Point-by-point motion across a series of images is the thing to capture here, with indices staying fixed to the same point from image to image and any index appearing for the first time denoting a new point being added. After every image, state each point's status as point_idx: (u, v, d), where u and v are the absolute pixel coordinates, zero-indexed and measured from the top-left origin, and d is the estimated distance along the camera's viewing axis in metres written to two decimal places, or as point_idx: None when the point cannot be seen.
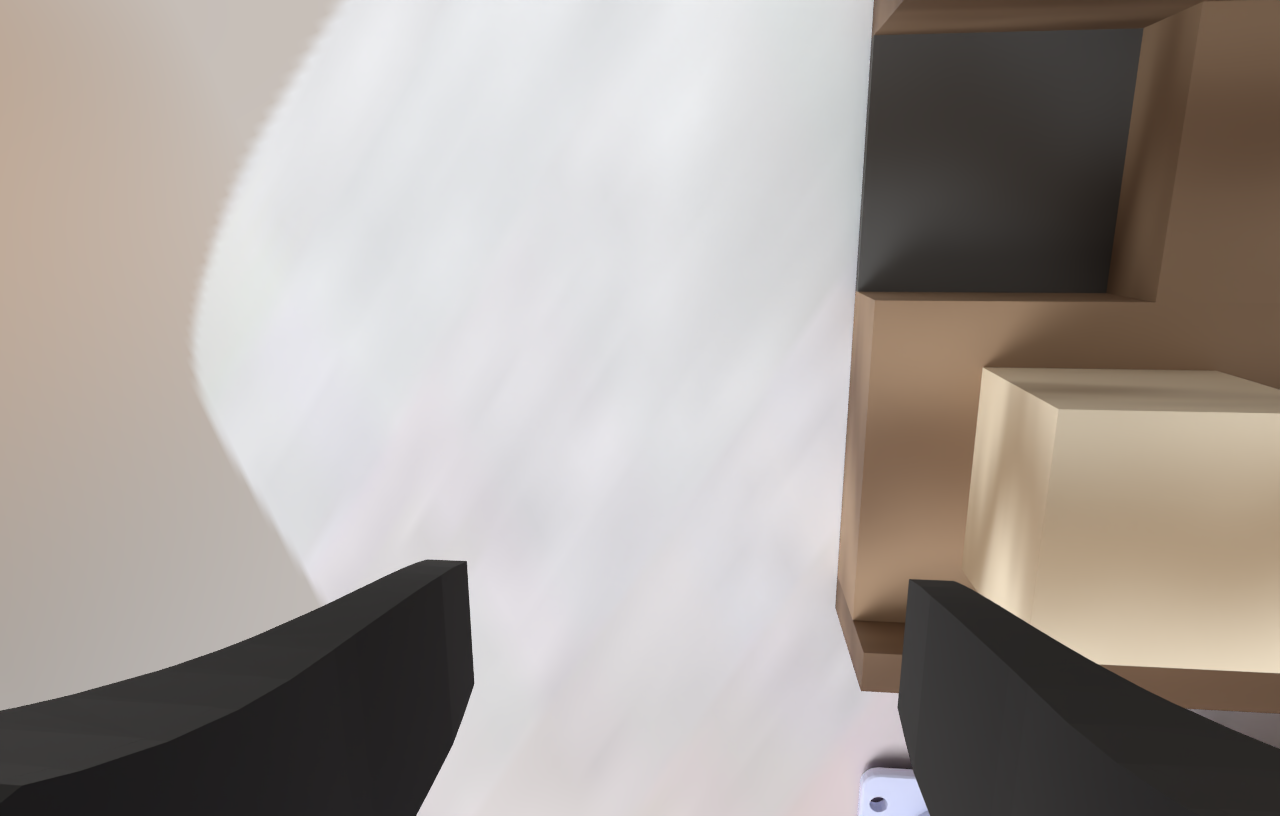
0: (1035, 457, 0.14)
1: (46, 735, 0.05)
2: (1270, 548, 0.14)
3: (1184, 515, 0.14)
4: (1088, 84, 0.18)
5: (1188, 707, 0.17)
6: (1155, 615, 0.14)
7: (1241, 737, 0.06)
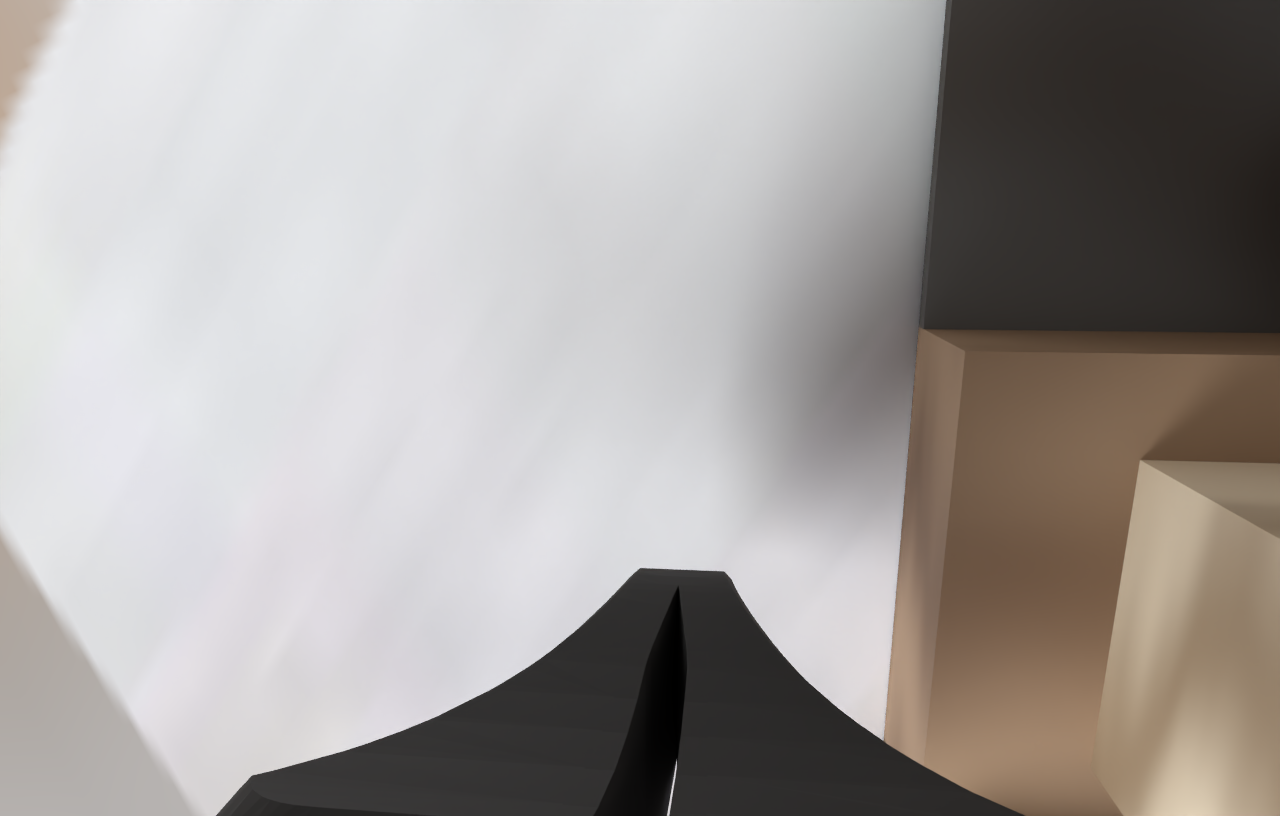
0: None
1: (481, 763, 0.05)
2: None
3: None
4: None
5: None
6: None
7: (838, 714, 0.06)
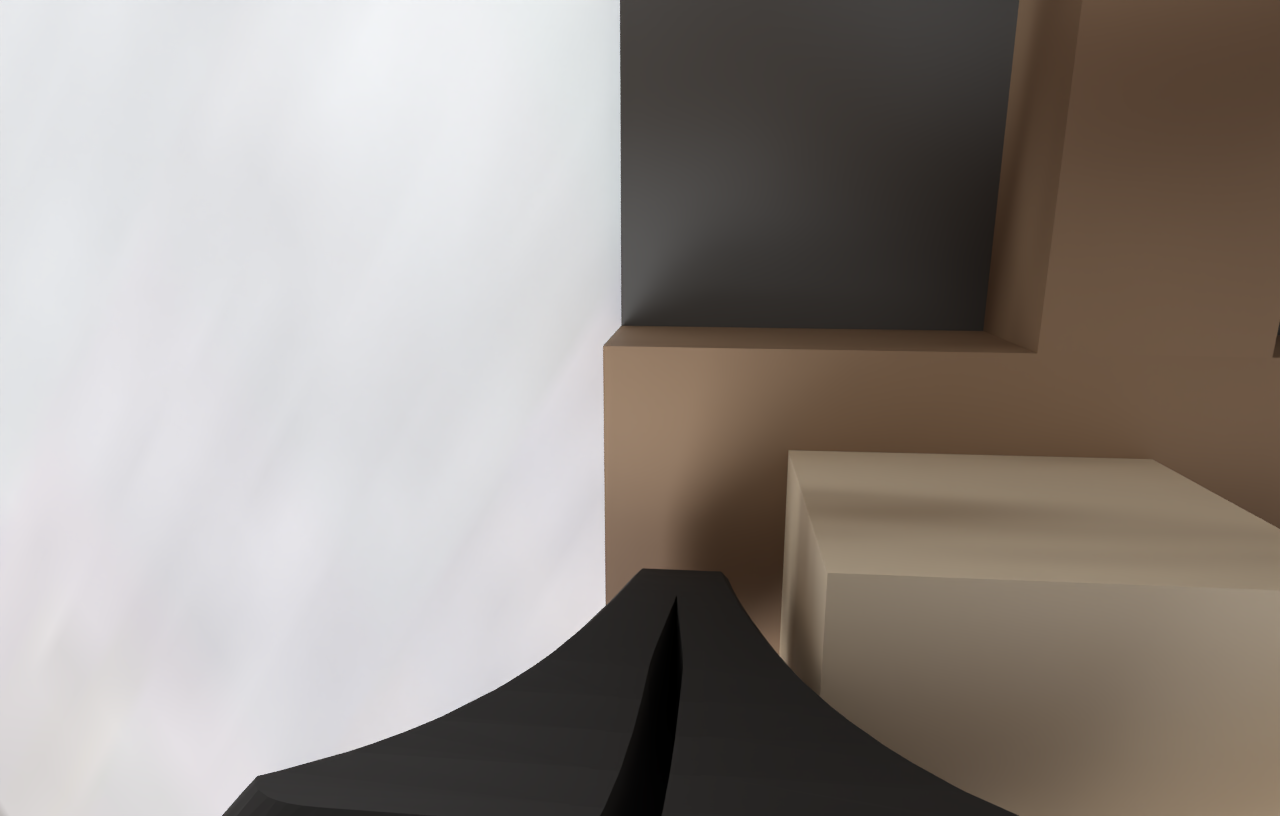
0: (813, 640, 0.08)
1: (487, 764, 0.05)
2: None
3: (1065, 762, 0.07)
4: (946, 12, 0.12)
5: None
6: None
7: (833, 714, 0.06)
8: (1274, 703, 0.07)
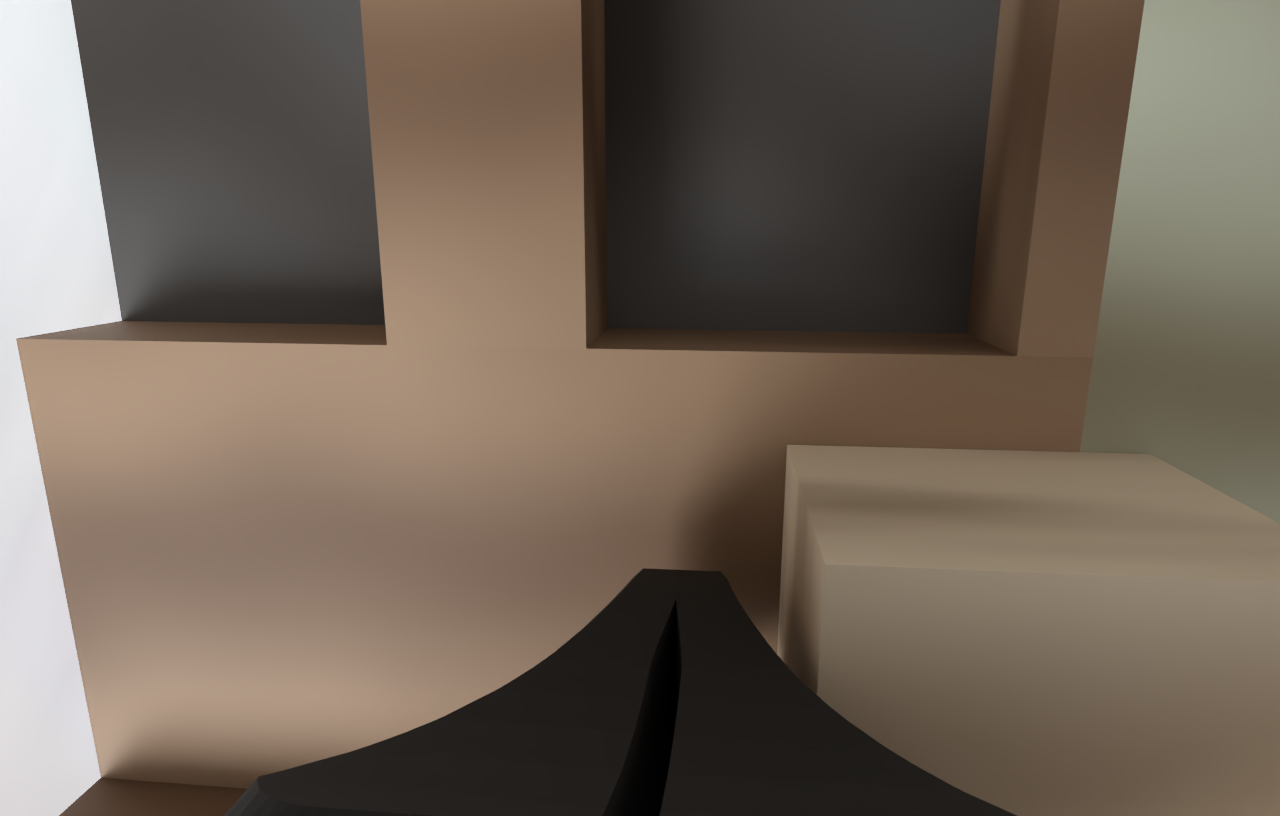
0: (810, 631, 0.08)
1: (489, 762, 0.05)
2: (1222, 815, 0.07)
3: (1062, 754, 0.07)
4: (358, 29, 0.12)
5: None
6: None
7: (831, 714, 0.06)
8: (1271, 695, 0.07)
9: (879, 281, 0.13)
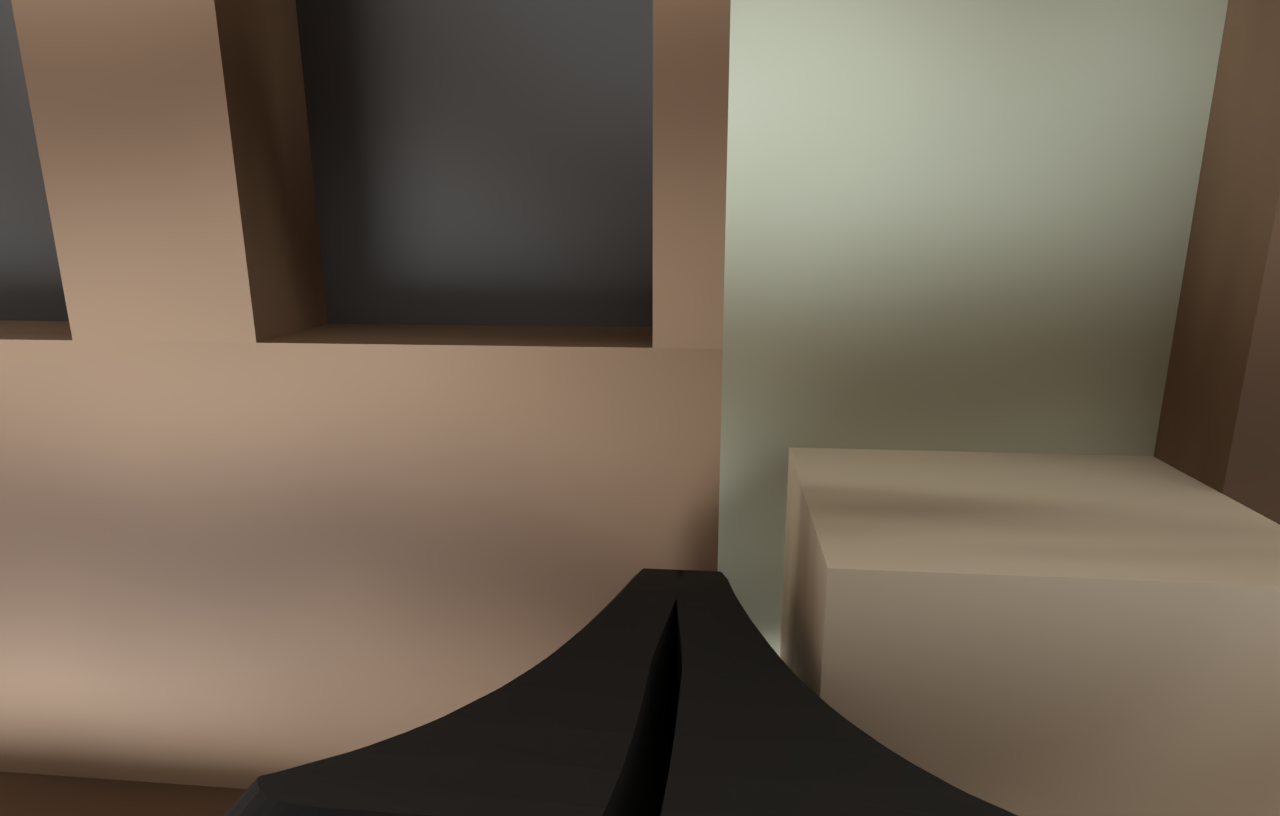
0: (813, 635, 0.08)
1: (489, 763, 0.05)
2: None
3: (1065, 757, 0.07)
4: None
5: None
6: None
7: (832, 714, 0.06)
8: (1275, 699, 0.07)
9: (577, 277, 0.13)
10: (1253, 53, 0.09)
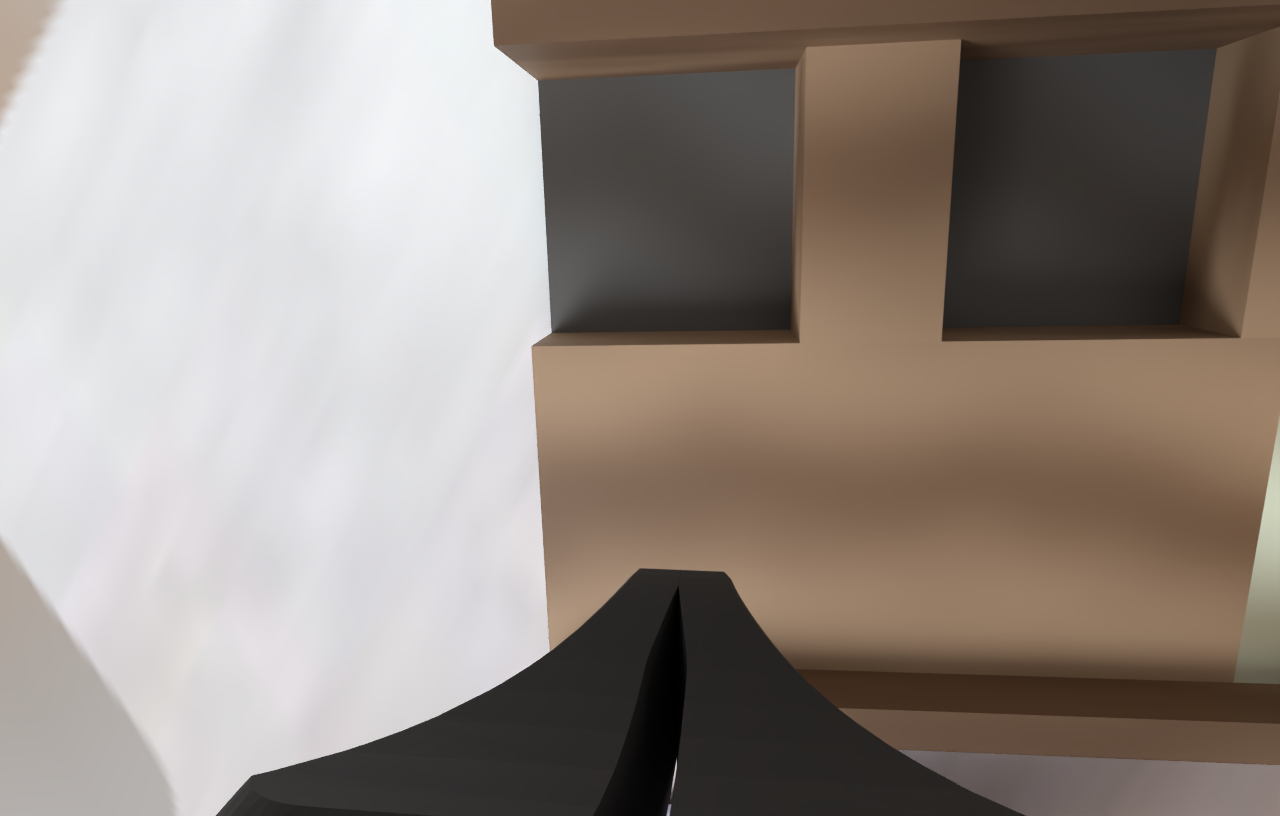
0: None
1: (481, 763, 0.05)
2: None
3: None
4: (749, 124, 0.18)
5: None
6: None
7: (838, 714, 0.06)
8: None
9: (1117, 289, 0.18)
10: None
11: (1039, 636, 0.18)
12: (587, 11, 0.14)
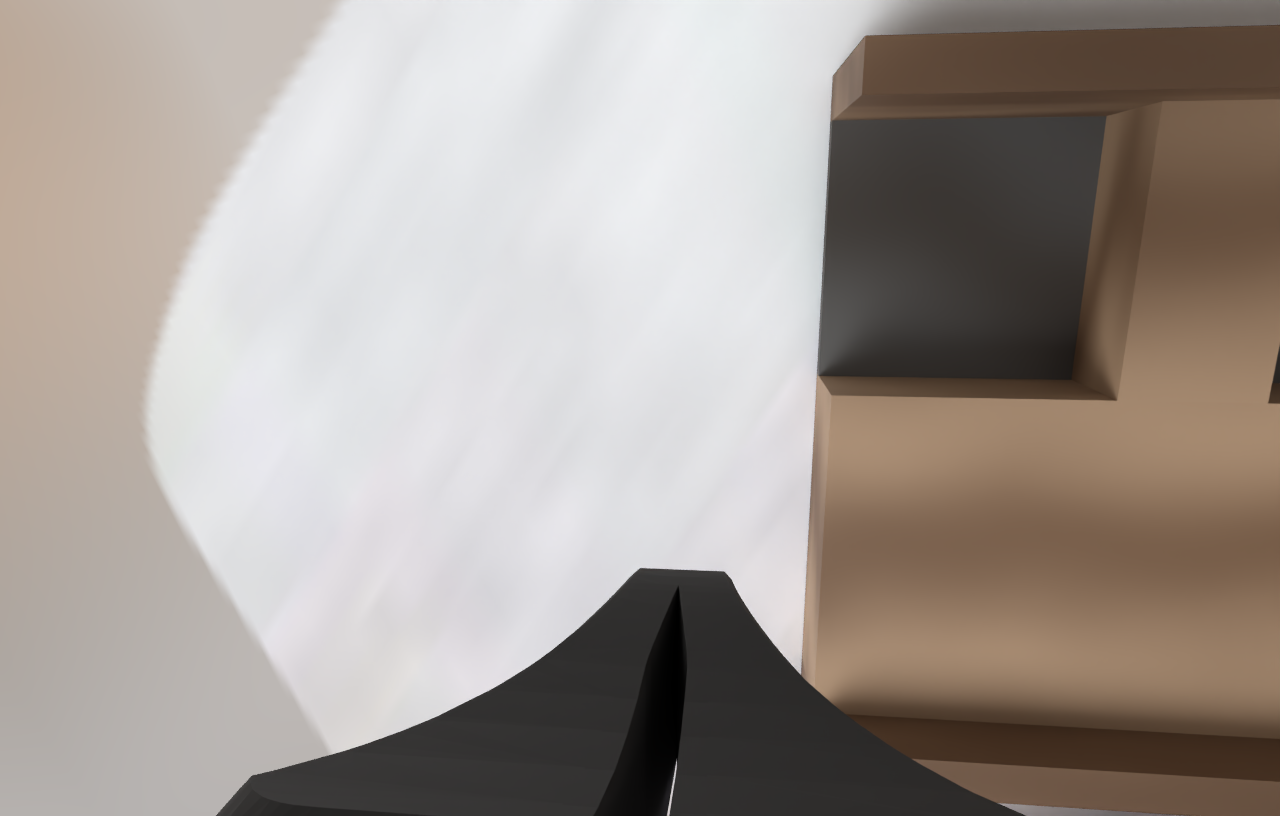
0: None
1: (480, 763, 0.05)
2: None
3: None
4: (1051, 171, 0.17)
5: (1152, 811, 0.17)
6: None
7: (838, 714, 0.06)
8: None
9: None
10: None
11: None
12: (967, 62, 0.14)
